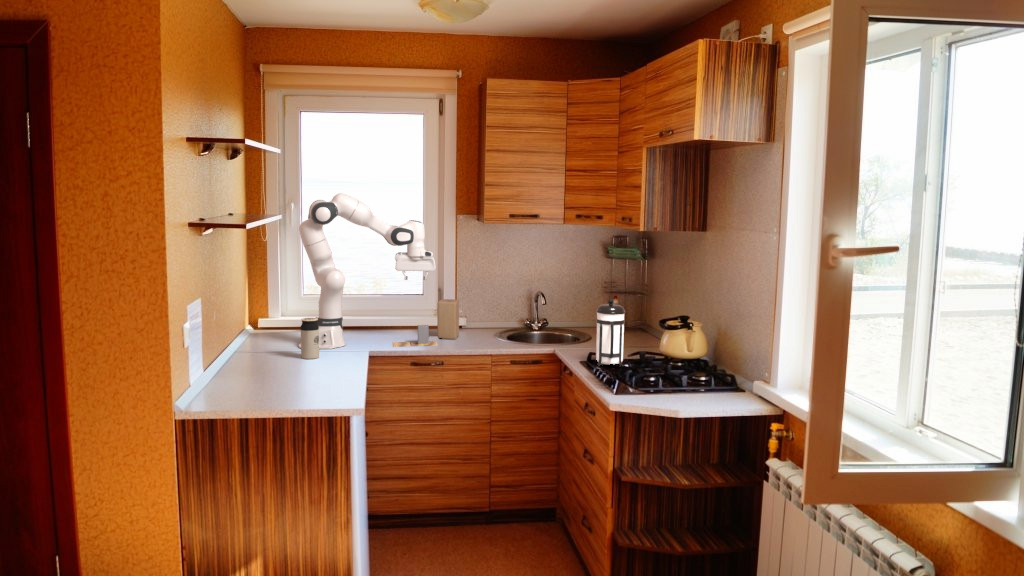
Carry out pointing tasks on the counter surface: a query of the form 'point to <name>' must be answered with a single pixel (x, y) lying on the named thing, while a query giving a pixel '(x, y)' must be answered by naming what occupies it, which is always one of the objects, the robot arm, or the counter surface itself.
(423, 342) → the block
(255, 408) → the counter surface
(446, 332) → the wooden block
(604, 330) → the coffee press
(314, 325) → the travel mug
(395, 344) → the board
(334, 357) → the counter surface
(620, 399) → the counter surface
